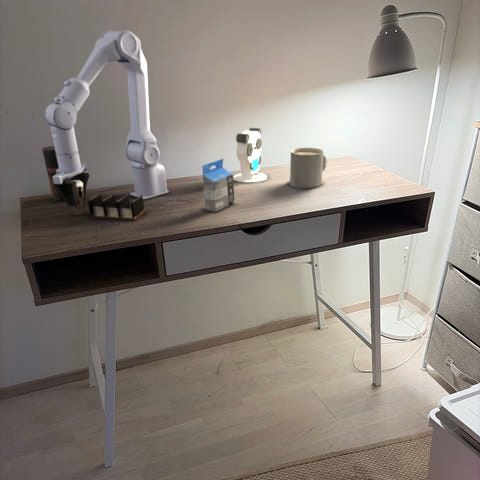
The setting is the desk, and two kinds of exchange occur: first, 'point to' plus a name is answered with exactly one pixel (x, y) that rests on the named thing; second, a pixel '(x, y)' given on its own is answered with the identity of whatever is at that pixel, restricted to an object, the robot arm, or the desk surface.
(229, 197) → the label tape box
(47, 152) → the deodorant
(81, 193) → the milkshake
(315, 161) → the coffee mug
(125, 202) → the letter rack
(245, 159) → the panda figurine
